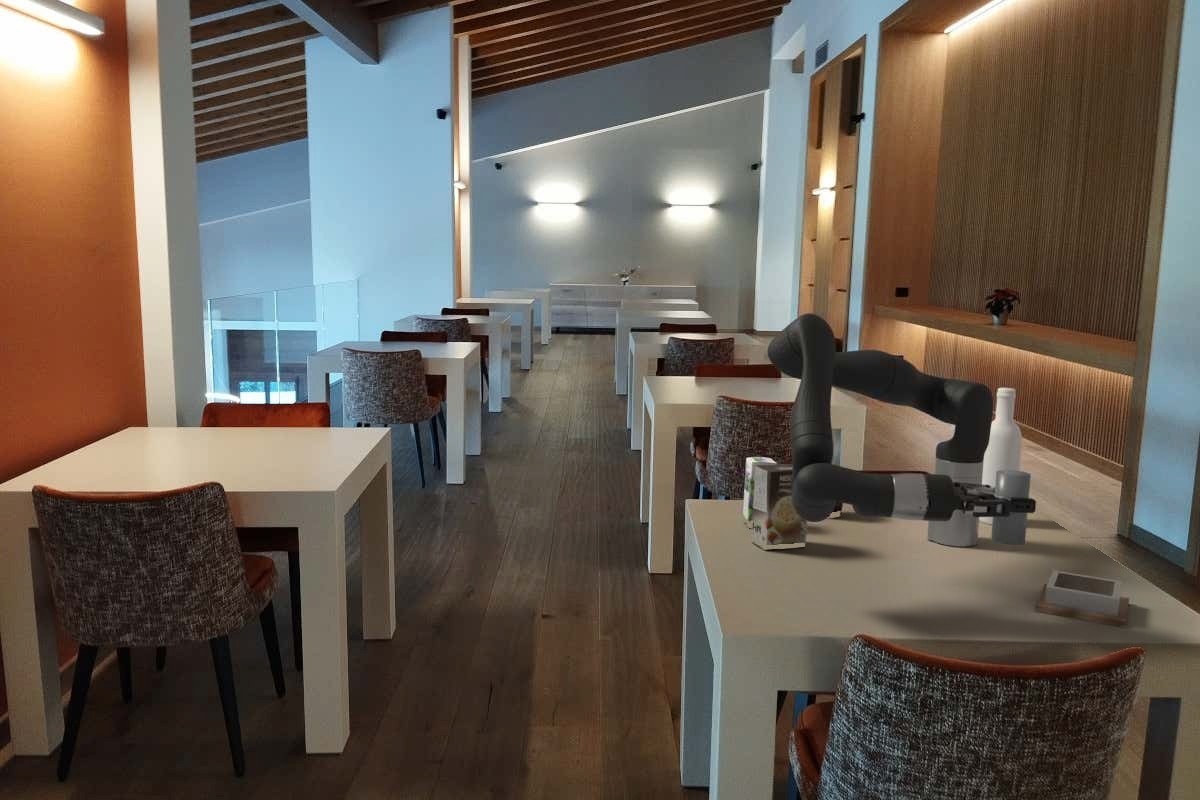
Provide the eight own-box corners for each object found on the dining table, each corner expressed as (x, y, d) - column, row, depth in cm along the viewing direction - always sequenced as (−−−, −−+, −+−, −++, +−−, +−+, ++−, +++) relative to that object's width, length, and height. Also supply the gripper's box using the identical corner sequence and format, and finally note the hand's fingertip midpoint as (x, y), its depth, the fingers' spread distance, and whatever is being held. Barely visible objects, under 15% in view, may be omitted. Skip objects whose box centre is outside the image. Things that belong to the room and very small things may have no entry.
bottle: (1016, 528, 206) (1027, 391, 202) (977, 524, 209) (988, 389, 205) (1014, 519, 214) (1025, 387, 210) (976, 515, 216) (986, 385, 212)
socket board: (1035, 611, 155) (1035, 605, 155) (1044, 589, 166) (1044, 583, 166) (1125, 627, 148) (1125, 621, 148) (1128, 603, 160) (1129, 597, 159)
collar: (1044, 604, 155) (1046, 586, 155) (1051, 586, 164) (1053, 570, 164) (1117, 617, 150) (1119, 599, 150) (1120, 598, 159) (1122, 581, 159)
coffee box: (765, 551, 185) (769, 471, 183) (750, 542, 191) (753, 464, 189) (806, 548, 188) (810, 469, 186) (790, 539, 194) (794, 462, 192)
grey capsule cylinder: (988, 541, 151) (994, 474, 150) (993, 534, 155) (999, 468, 154) (1022, 546, 149) (1028, 478, 147) (1027, 539, 153) (1032, 472, 151)
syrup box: (741, 521, 207) (744, 456, 205) (768, 521, 207) (771, 456, 205) (748, 528, 201) (750, 462, 199) (775, 528, 202) (778, 462, 200)
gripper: (908, 508, 160) (1012, 513, 158) (928, 531, 146) (1043, 536, 144) (910, 465, 159) (1016, 469, 157) (931, 484, 145) (1047, 488, 143)
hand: (1028, 501), depth 151 cm, fingers closed on grey capsule cylinder, 5 cm apart
